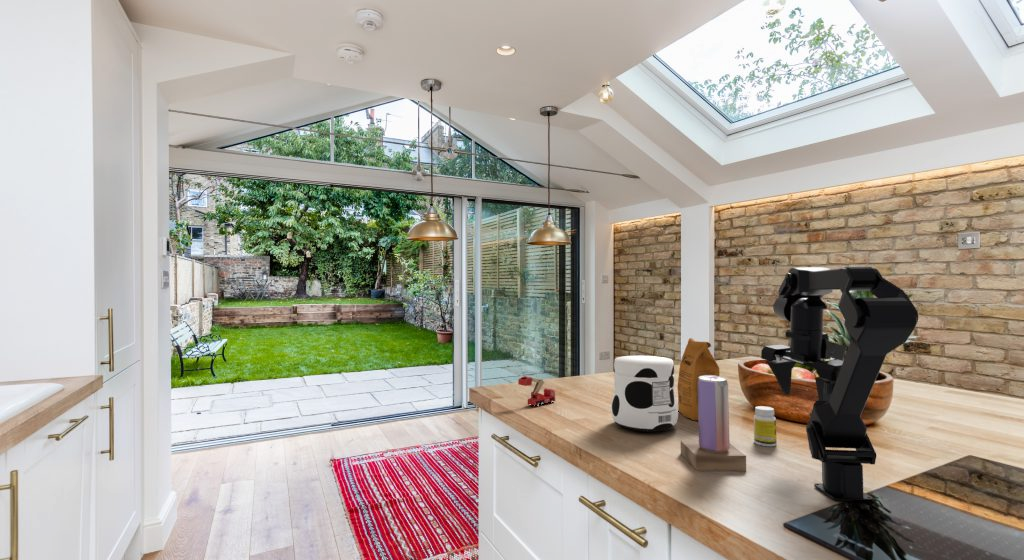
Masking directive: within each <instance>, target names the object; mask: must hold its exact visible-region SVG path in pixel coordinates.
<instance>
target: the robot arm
mask: <svg viewBox="0 0 1024 560" xmlns="http://www.w3.org/2000/svg"><path fill="white" fill-rule="evenodd" d="M833 290H836V291H837V290H840V292H841V296H840V299H839V302H838V305H837V307H838V309H839V311H840V313H841V315H842V316H843V319H844V324H843V325H844V328H845V330H846V331H847V334H848V335H849V337H850V341H849V342H850V343H849V345H848V346H845V345H841V344H840V343H836V342H834V341H830V340H829V339H830V337H829V335H828V333H825V332H824V329H823V328H824V310H827V308H828V306H827V304H826V302H824V301H823V300H822V298H823V297H824V296H826V295H828V294H831V293H833ZM850 291H852V292H853V291H869V292H870V294H871V295H872V296H873V297H856V298H854V297H853V295H852V294H851V292H850ZM777 292H778V297H777V298H776V299H775V301H774V303H773V304H772V308H773V311H774V312H773V313H775V315H776V317H778V318H779V319H782V320H785V321H787V322H789V323H790V327H789V328H790V330H789V331H785V338H789V346H788V345H785V344H774V345H773V344H771V345H765V346H763V348H762V349H761V352H760V354H761V356H760V357H761V359H762V360H765V364H766V365H768V367H769V368H770V370H771V372H772V373H773V375H774V377H775V378H776V380H777V382H778V384H779V387H780V389H781V390H782V393H783V394H784V395H785V396H788V395H790V394H791V387H792V373H793V372H792V371H793V369H794V367H795V365H796V364H799V365H802V366H805V367H808V368H813V369H815V372H816V374H817V376H816V377H814V380H815V386H816V391H817V398H818V400H816V401H815V402H814V403H813V407H812V408H811V412H810V414H809V420H808V421H807V423H806V427H805V430H806V431H805V432H806V435H807V442H808V448H809V451H810V455H811V458H812V459H815V460H818V461H820V463H821V479H822V483H820V482H819V483H813V484H814V488H816V489H817V490H819V491H820V492H822V493H823V494H825V495H826V496H828V497H829V498H831V499H832V500H834V501H835V502H854V501H853V500H872V499H873V497H872V496H870V495H868V494H867V493H866V492H864V468H863V467H864V464H867V465H876V459H877V453H876V450H875V448H874V446H873V444H872V442H871V439H870V437H869V435H868V433H867V432H868V431H867V430H868V428H867V426H866V424H865V422H864V420H863V419H862V414H863V411H864V409H865V406H866V404H867V401H868V400H869V397H870V394H871V392H872V390H873V387H874V385H875V383H876V381H877V378H878V375H879V374H880V371H881V369H882V366H883V364H884V361H885V359H886V357H887V355H888V354H889V353H890V352H892V351H894V350H895V349H897V348H899V347H900V346H902V345H904V344H905V343H906V342H907V341H908V339H910V336H912V334H913V332H914V330H915V329H916V327H917V324H918V321H919V312H918V311H917V308H916V306H915V304H914V303H913V302H912V301H911V299H910V298H909V295H907V293H906V291H904V290H903V289H902V288H900V287H899V286H897V285H896V284H894V283H892V282H891V281H889V280H887V279H885V278H884V276H882V274H881V273H880V271H879V270H878V269H877V268H876V267H872V266H868V265H867V266H866V265H865V266H860V265H859V266H844V267H841V268H835V269H831V268H829V267H823V266H821V267H820V266H819V267H817V266H816V267H814V266H813V267H812V266H811V267H790V269H789V270H788V273H786V274H785V275H784V278H783V281H782V282H781V284H780V286H779V288H778V291H777ZM847 347H848V348H847ZM831 358H832V359H831ZM830 359H831V360H830ZM827 448H829V449H827ZM833 448H834V449H833ZM847 449H850V450H847ZM851 449H853V450H851ZM854 449H855V450H854Z"/></svg>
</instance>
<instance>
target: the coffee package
mask: <svg viewBox="0 0 1024 560" xmlns="http://www.w3.org/2000/svg"><path fill="white" fill-rule="evenodd" d="M711 347H712V344H711V343H710V342H709V341H696V340H695V339H694V338H692V337H690V338H688V340H687V344H686V346H685V349H684V352H683V354H682V356H681V360H680V363H679V369H678V380H677V388H676V389H677V398H678V400H677V405H678V411H679V412H678V413H681V414H682V416H683V417H684V416H685V417H684V418H686V417H687V418H686V419H689V418H690V419H689V420H692V421H698V380H699V377H700V376H719V377H720V366H719V365H718V363H717V362H716V359H715V358H714V356H713V354H712V353H711V351H710V348H711Z"/></svg>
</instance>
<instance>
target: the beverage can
mask: <svg viewBox="0 0 1024 560" xmlns="http://www.w3.org/2000/svg"><path fill="white" fill-rule="evenodd" d="M729 397H730V395H729V383H728V378H726V377H724V376H720V375H719V376H700V377H699V380H698V420H697V421H698V440H699V446H700V448H701V449H702V450H703V451H706V452H709V453H716V454H722V453H726V452H728V450H729V448H730V444H731V443H730V409H729V408H730V405H729V404H730V403H729V401H730V400H729Z"/></svg>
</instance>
